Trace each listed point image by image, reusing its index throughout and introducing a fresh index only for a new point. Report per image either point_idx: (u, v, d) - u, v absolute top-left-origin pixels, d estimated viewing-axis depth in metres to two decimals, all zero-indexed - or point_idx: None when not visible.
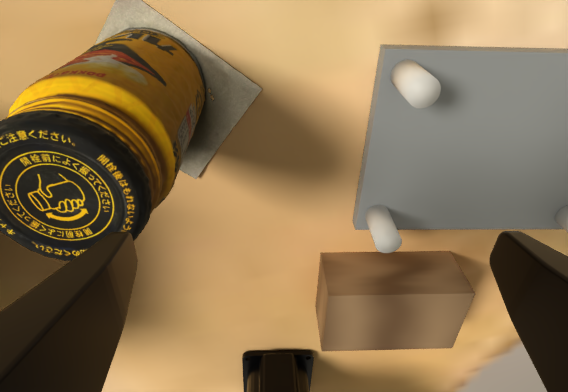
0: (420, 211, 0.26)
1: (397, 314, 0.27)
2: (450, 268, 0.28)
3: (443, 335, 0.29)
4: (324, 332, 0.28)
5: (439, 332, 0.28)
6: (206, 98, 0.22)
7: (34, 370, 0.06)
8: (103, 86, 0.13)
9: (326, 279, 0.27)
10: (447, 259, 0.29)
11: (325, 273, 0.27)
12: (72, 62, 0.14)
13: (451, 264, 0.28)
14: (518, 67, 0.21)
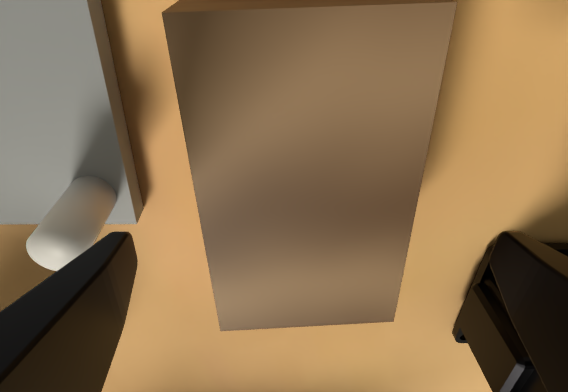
0: (62, 116, 0.12)
1: (271, 210, 0.11)
2: None
3: (375, 59, 0.08)
4: (332, 322, 0.13)
5: (359, 76, 0.09)
6: None
7: (34, 370, 0.06)
8: None
9: None
10: None
11: None
12: None
13: None
14: None
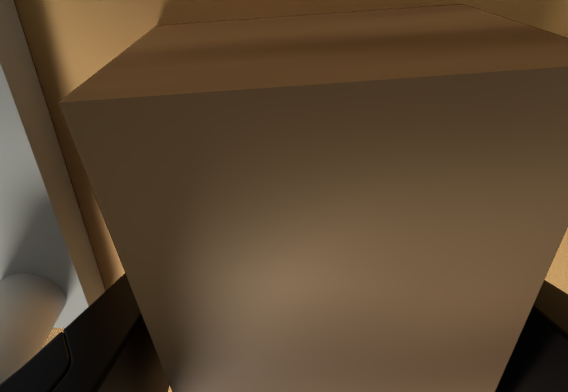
0: None
1: (281, 371, 0.07)
2: None
3: (468, 164, 0.05)
4: None
5: (435, 191, 0.05)
6: None
7: (125, 368, 0.06)
8: None
9: None
10: None
11: None
12: None
13: None
14: None
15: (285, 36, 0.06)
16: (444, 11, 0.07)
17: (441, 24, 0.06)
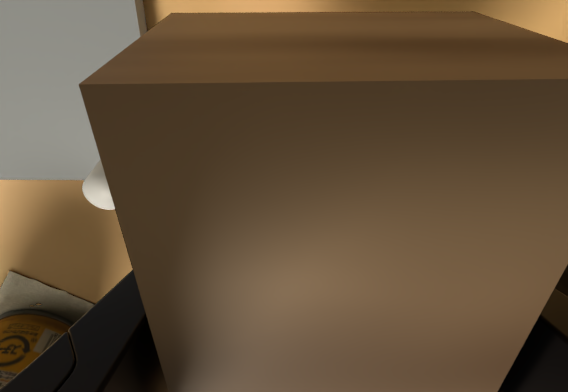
0: None
1: (282, 373, 0.07)
2: None
3: (491, 171, 0.05)
4: None
5: (456, 197, 0.05)
6: (40, 309, 0.23)
7: (130, 368, 0.06)
8: None
9: None
10: None
11: None
12: None
13: None
14: None
15: (306, 33, 0.06)
16: (462, 18, 0.07)
17: (462, 31, 0.06)
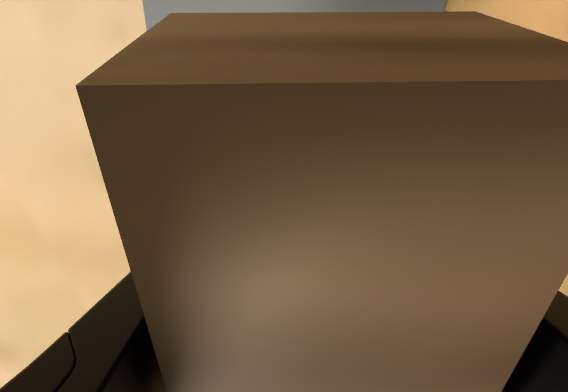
0: None
1: (282, 376, 0.07)
2: None
3: (494, 173, 0.04)
4: None
5: (458, 200, 0.05)
6: None
7: (130, 368, 0.06)
8: None
9: None
10: None
11: None
12: None
13: None
14: None
15: (306, 33, 0.06)
16: (463, 18, 0.07)
17: (464, 31, 0.06)
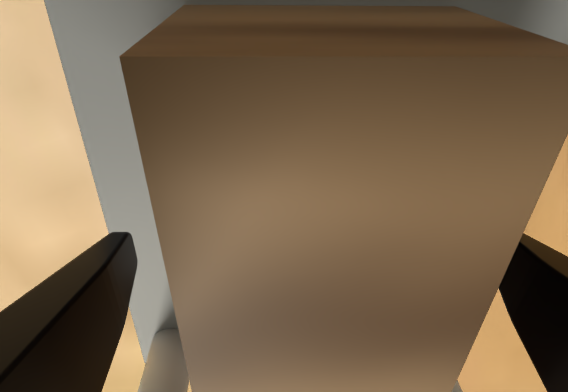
0: None
1: (281, 323, 0.07)
2: None
3: (459, 136, 0.05)
4: None
5: (429, 159, 0.06)
6: None
7: (34, 370, 0.06)
8: None
9: None
10: None
11: None
12: None
13: None
14: (130, 210, 0.11)
15: (304, 21, 0.07)
16: (443, 12, 0.08)
17: (441, 21, 0.07)
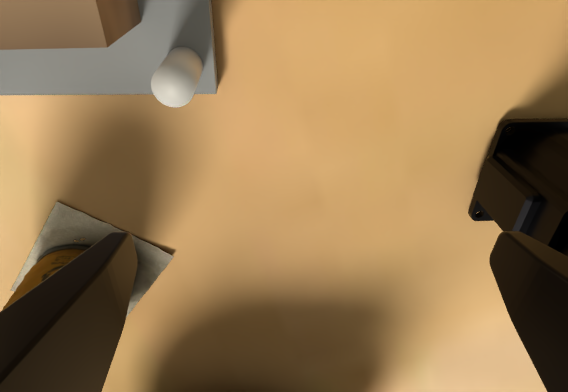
0: None
1: None
2: None
3: None
4: (39, 47, 0.12)
5: None
6: (84, 244, 0.24)
7: (34, 370, 0.06)
8: None
9: None
10: None
11: None
12: None
13: None
14: None
15: None
16: None
17: None
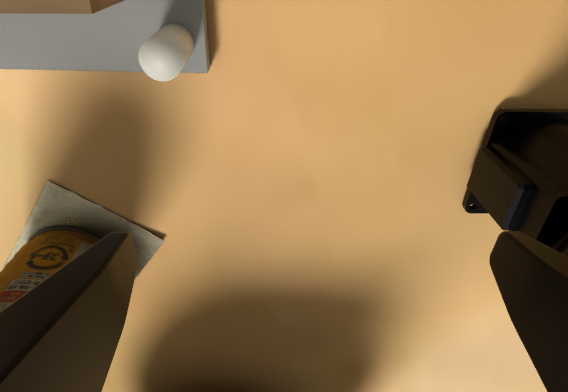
0: None
1: None
2: None
3: None
4: (24, 11, 0.12)
5: None
6: (75, 225, 0.24)
7: (34, 370, 0.06)
8: None
9: None
10: None
11: None
12: None
13: None
14: None
15: None
16: None
17: None
